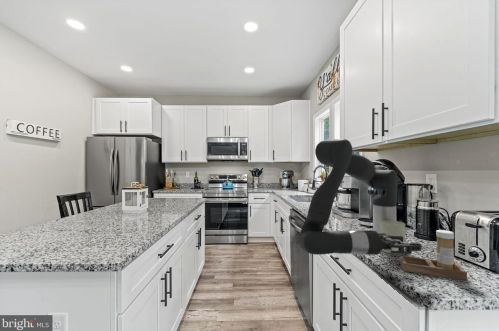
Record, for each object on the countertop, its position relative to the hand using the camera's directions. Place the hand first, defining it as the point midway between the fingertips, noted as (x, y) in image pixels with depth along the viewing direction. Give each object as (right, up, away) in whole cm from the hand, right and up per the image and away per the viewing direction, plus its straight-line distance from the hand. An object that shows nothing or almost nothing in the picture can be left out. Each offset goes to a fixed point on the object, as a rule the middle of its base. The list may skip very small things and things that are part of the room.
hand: (411, 242), depth 80 cm
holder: (+8, -10, +2) cm, 13 cm away
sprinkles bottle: (+11, -10, 0) cm, 15 cm away
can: (+7, -10, +22) cm, 25 cm away
